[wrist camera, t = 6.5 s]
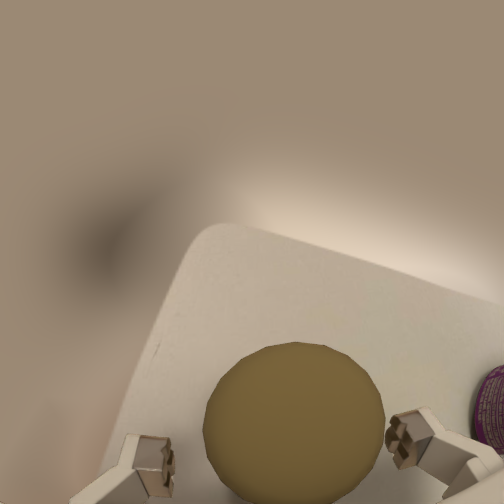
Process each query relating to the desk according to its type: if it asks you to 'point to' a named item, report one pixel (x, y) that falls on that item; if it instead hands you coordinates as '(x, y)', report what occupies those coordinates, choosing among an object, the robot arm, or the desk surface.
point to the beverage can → (491, 411)
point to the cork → (294, 425)
